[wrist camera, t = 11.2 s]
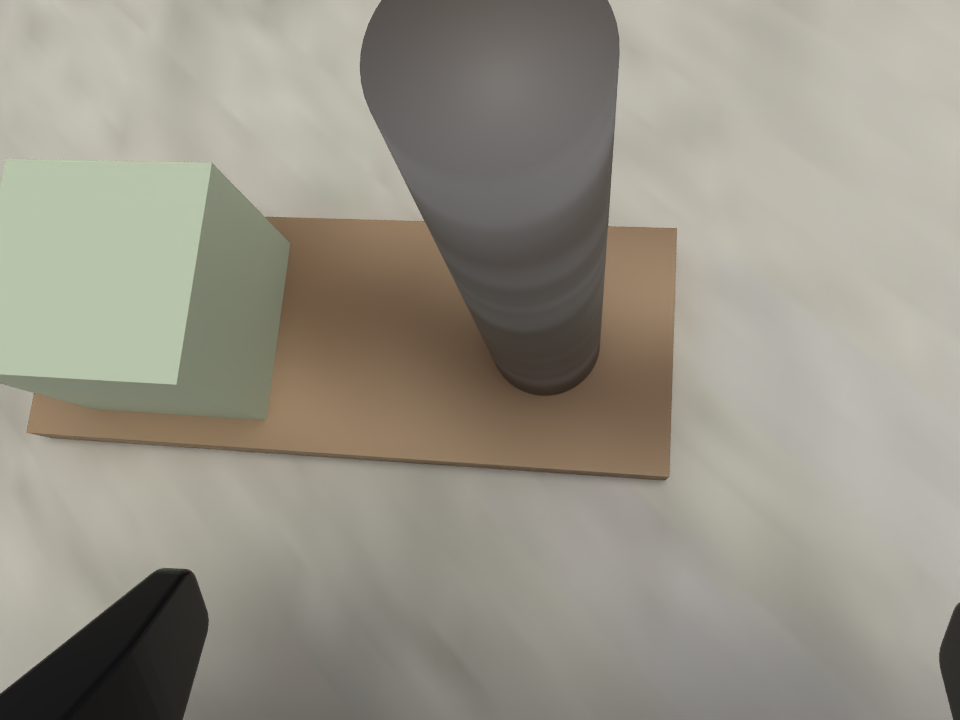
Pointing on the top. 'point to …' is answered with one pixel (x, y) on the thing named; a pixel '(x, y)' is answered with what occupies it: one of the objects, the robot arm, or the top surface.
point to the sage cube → (138, 287)
